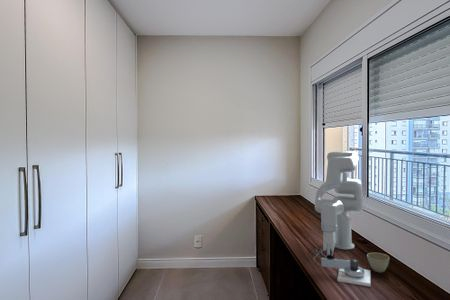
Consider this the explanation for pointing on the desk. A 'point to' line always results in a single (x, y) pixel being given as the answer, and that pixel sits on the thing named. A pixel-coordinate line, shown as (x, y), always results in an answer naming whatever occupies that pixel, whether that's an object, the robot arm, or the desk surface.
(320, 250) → the pliers
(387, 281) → the desk surface
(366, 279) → the dial plate
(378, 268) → the flower pot
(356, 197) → the robot arm
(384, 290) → the desk surface
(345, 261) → the dial
